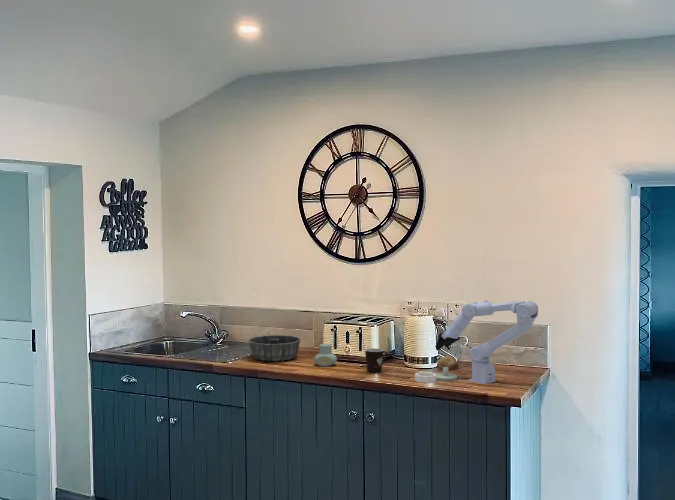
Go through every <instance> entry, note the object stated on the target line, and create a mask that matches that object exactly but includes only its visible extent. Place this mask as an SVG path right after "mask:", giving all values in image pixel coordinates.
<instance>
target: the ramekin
mask: <svg viewBox="0 0 675 500" xmlns="http://www.w3.org/2000/svg"><path fill="white" fill-rule="evenodd" d="M436 374H437V373H434V372H429V371H428V372H427V371H422V372H421V371H420V372H416V373H414V382H418V383H423V384H424V383H426V384H427V383H430V384H431V383H436V382H437V379H436Z"/></svg>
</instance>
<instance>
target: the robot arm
mask: <svg viewBox="0 0 675 500" xmlns="http://www.w3.org/2000/svg"><path fill="white" fill-rule="evenodd" d="M461 309H462V310H461V312H460V313H458V315H457V316H456V318H455V319H454V320H453V321H452V323H451V324H450V325H449V326H445V331H444V332H440V333H439V334H438V340H437V342H436V344H435V347H434V348H435V349H437V351H440V350H441V349H442V348H443V347H445V348H446V349H447V348H449V347H450V346H451V345H453V344H454V343H456V342H458V341H460V340H461V337H460V336H461V335H462V333H463V331H465V329H466V328H467V327H468V326H469V324H470V323H471V321H472V320H474V317H484V316H492V315H494V314H495V312H504V311H505V312H507V311H511V312H512V313H513V314H516V320H517V321H516V324H515V325H514V326H512V327H510V328H508V329H507V330H505V331H503V332H502V333H501V334H498V335H497V336H495V337H493V338H491V339H490V340H488V341H487V342H485V343H482V344H480V345H477V346H473V347H471V349H470V350H469V357H470V359H471V378H469V379H467V381H470V382H474V383H478V384H483V385H485V384H490V383H495V382H497V380H496V368H495V365H494V363H492V362H490V357H491V356H492V354H493V353H494V352H496V350H498V349H500V348H502V347H503V346H505V345H507V344H508V343H510V342H512V341H514V340H515V339H517V338H519V337H521V336H522V335H524V334H526V333H527V332H529V331H530V330H531V328H532V326H533V324H534V323H535V320H536V318H538V315H539V306H538V304H537V303H536V302H534V301H531V300H529V301H524V300H523V301H521V300H520V301H518V300H516V301H515V300H514V301H506V302H501V303H500V302H499V303H494V302H492V301H489V300H484V301H483V302H482V301H480V302H477V301H474V302H473V303H472V302H471V303H467V304H464V305H463V306H462V308H461Z"/></svg>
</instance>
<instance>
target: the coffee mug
mask: <svg viewBox="0 0 675 500" xmlns="http://www.w3.org/2000/svg"><path fill="white" fill-rule="evenodd" d="M364 353H365V363H366V364H365V365H366V370H367V373H368V372H369V374H380V373H382V367H383V363H384V362H385V361H386V359H387V357H388V353H387V351H385V349H382V348H375V347H373V348H366V349H364ZM384 354H385V356H384Z"/></svg>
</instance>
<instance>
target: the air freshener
mask: <svg viewBox="0 0 675 500" xmlns="http://www.w3.org/2000/svg"><path fill="white" fill-rule="evenodd" d="M332 347H333V346H332V344H330V343H321V344H319V347H318V348H319V351H318V353H317V354H316V355H315V356H314V357H313V360H314V363H315V364H316V365H318V366H320V367H324V368H325V367H331V366H333V365H335V364H336V362H338V357H337V356H336V355H335V354H334V353H333V351H332V350H333V349H332Z"/></svg>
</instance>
